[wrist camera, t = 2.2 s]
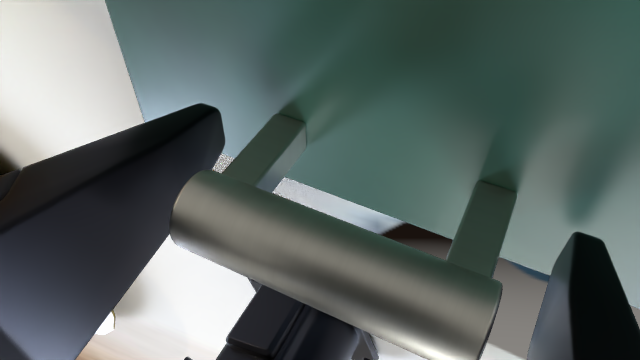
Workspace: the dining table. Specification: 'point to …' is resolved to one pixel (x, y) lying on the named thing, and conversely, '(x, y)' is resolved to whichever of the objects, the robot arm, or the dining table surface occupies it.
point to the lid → (401, 145)
